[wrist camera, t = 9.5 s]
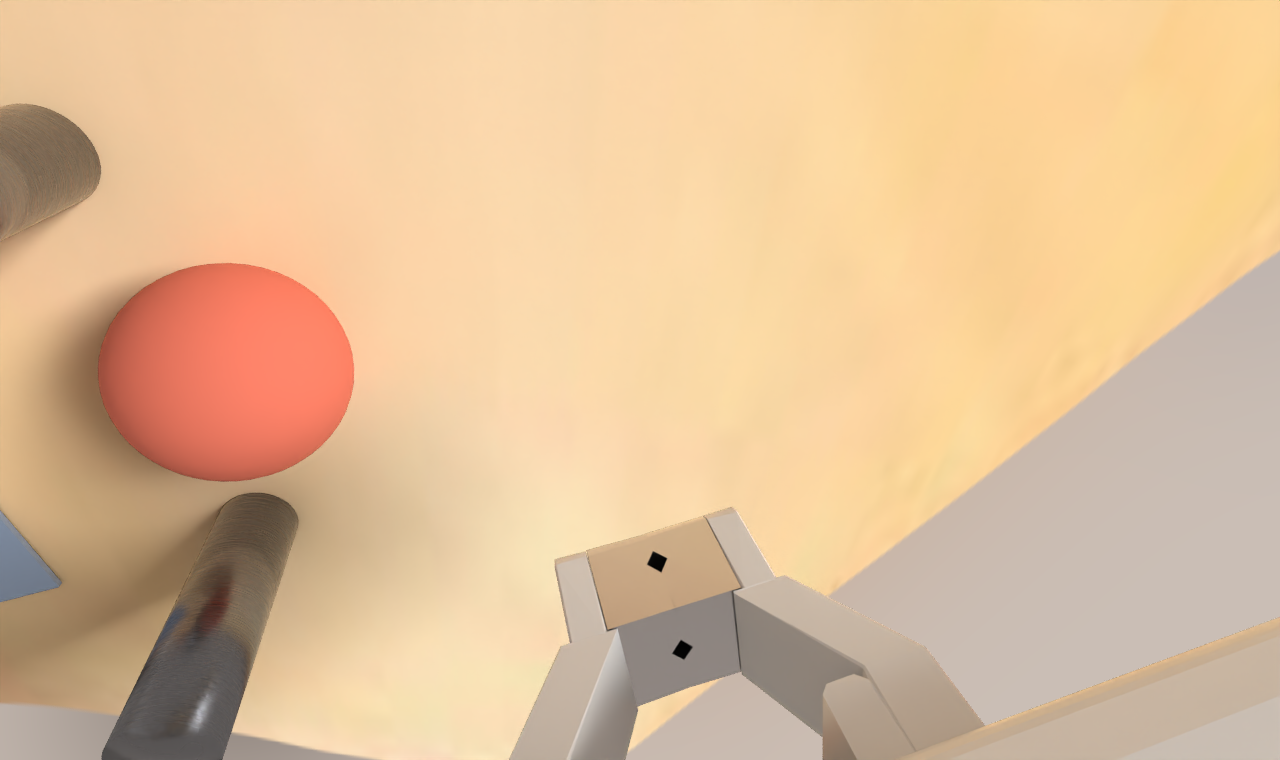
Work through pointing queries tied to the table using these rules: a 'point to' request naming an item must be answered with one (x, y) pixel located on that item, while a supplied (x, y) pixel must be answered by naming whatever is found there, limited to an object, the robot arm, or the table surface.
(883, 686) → the robot arm
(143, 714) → the post far
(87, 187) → the post near
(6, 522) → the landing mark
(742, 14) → the table surface
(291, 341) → the ball
